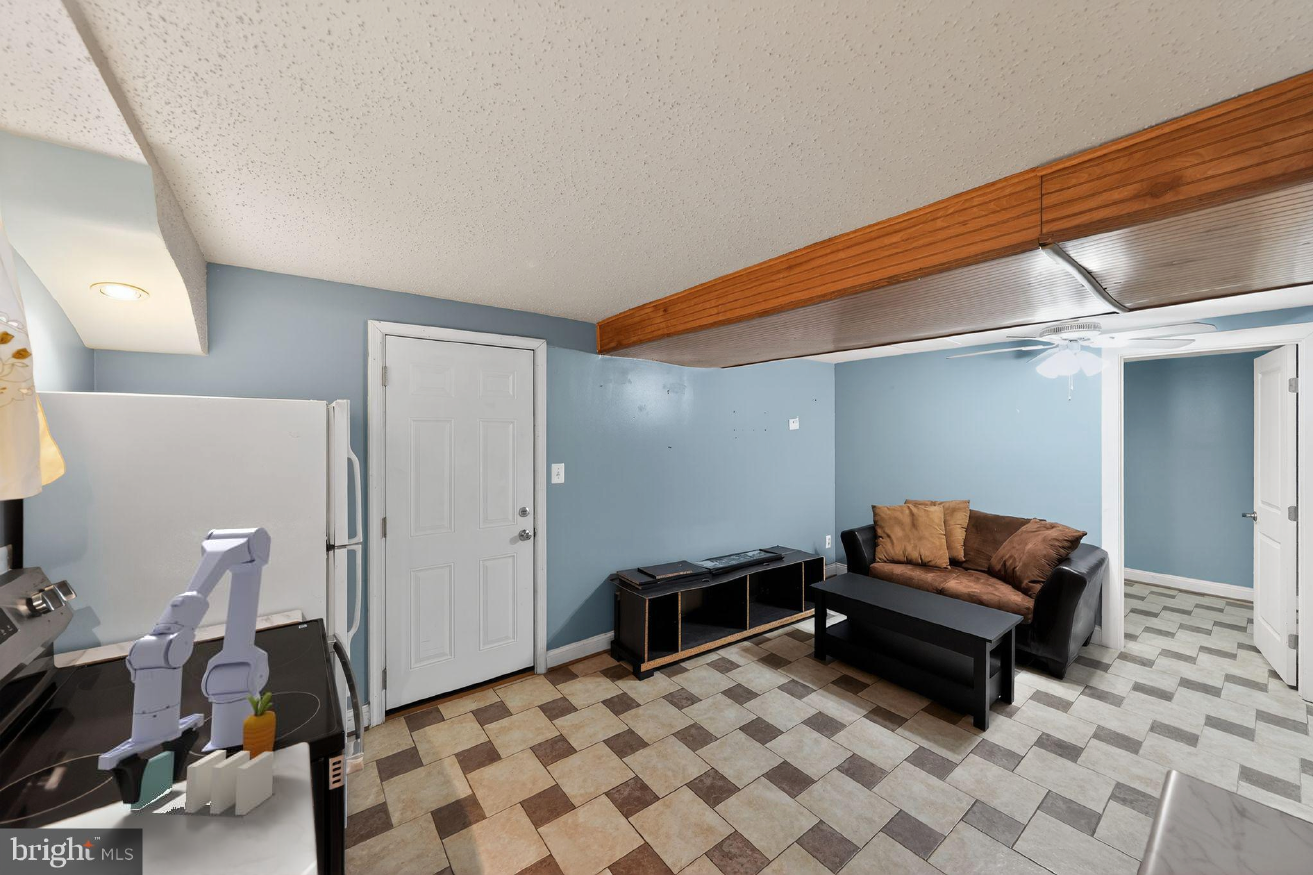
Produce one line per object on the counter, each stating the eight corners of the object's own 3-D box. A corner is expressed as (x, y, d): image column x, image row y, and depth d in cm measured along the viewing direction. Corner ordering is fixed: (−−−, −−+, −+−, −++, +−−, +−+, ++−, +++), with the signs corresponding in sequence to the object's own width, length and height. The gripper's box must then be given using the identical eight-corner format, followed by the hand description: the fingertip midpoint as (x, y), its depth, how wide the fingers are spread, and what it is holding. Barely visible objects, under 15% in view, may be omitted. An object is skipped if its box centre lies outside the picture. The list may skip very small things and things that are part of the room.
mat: (150, 815, 80) (150, 812, 80) (188, 792, 86) (188, 790, 86) (242, 819, 78) (242, 817, 78) (275, 796, 84) (275, 793, 84)
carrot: (233, 784, 88) (237, 695, 90) (266, 769, 93) (269, 685, 94) (247, 791, 86) (251, 700, 87) (280, 776, 90) (283, 690, 92)
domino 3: (235, 814, 79) (237, 768, 80) (263, 794, 84) (265, 751, 85) (244, 814, 79) (246, 768, 80) (271, 795, 84) (273, 751, 85)
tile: (130, 812, 81) (133, 767, 82) (163, 793, 86) (166, 751, 87) (138, 813, 81) (141, 767, 82) (171, 794, 86) (174, 751, 86)
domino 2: (209, 813, 80) (212, 767, 80) (239, 794, 84) (241, 750, 85) (218, 813, 79) (221, 767, 80) (247, 794, 84) (249, 750, 85)
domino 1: (184, 812, 80) (187, 766, 81) (215, 793, 85) (217, 749, 86) (193, 812, 80) (196, 766, 81) (223, 793, 85) (226, 750, 85)
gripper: (128, 727, 77) (122, 820, 76) (220, 689, 92) (216, 767, 90) (89, 726, 78) (82, 818, 77) (186, 688, 92) (181, 765, 91)
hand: (152, 790), depth 84 cm, fingers open, 6 cm apart
